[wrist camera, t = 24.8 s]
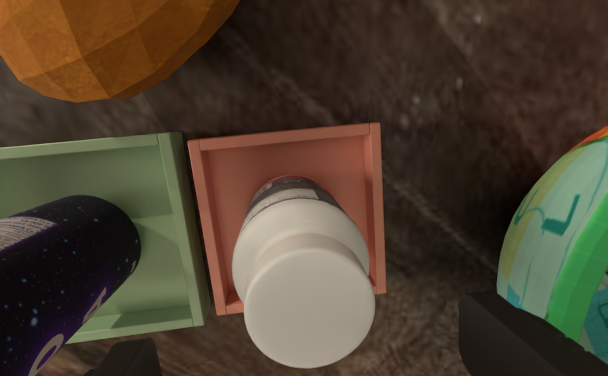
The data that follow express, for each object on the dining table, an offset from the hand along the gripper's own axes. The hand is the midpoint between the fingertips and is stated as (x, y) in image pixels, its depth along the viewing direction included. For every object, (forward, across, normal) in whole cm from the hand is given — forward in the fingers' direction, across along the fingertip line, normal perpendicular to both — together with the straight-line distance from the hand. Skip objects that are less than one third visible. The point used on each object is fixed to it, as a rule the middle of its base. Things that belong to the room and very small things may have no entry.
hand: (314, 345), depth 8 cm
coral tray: (+12, 0, 0) cm, 12 cm away
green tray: (+12, +11, 0) cm, 16 cm away
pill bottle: (+11, 0, 0) cm, 11 cm away
